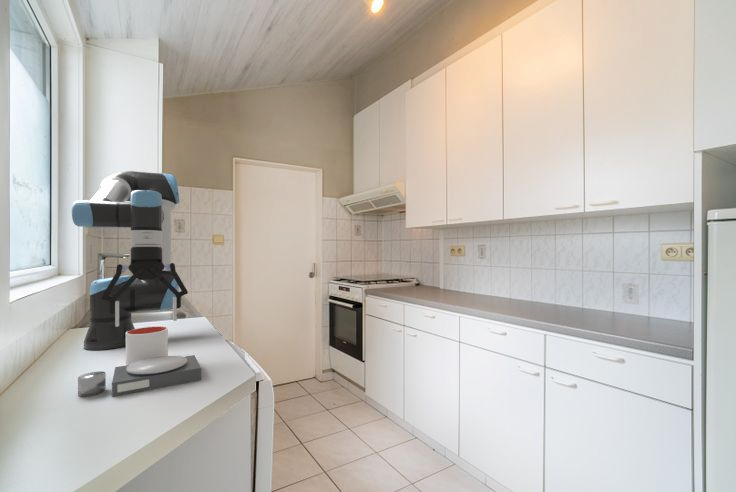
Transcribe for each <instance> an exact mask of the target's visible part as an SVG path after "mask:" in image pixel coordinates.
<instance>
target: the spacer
mask: <svg viewBox="0 0 736 492" xmlns="http://www.w3.org/2000/svg"><path fill="white" fill-rule="evenodd" d="M106 374H107V373H106V371H92V372H87V373H84V374H80V375H79V376H78V377H77V397H79V398H87V397H89V398H90V397H94V396H97V395H98V396H99V395H100V394H103V393H105V392H106V389H107V388H106V387H107V386H106V382H107V379H106V378H107V376H106Z"/></svg>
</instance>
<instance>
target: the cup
mask: <svg viewBox="0 0 736 492" xmlns="http://www.w3.org/2000/svg"><path fill="white" fill-rule="evenodd" d="M168 330H169V328H168V327H166V326H146V327H145V326H144V327H138V328H135V329H133V330H130V331H127V332H126V346H125V366H126V365H130V364H132V363H135V362H137V361H141V360H144V359H148V358H154V357H161V356H169V344H168V343H169V340H168V339H169V331H168Z"/></svg>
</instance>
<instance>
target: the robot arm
mask: <svg viewBox="0 0 736 492" xmlns="http://www.w3.org/2000/svg"><path fill="white" fill-rule="evenodd" d="M177 204H180V194H179V186H178V181H177V177H176V176H175V175H174V174H168V173H164V172H163V173H162V172H161V173H157V172H146V171H145V172H144V171H133V170H128V171H121V172H117V173H114V174H111V175H109V176H107V177H106V178H104V179H103V180H102V181H101V182H100V184H99V187H98V191H97V192H96V193H95V194H94V195H93V196H92V198H91V199H90V200H87V199H84V200H75V201H74V202H73V203H72V206H71V219H72V223H73V224H74V225H75V226H77V227H78V228H79V227H83V228H84V227H85V228H89V229H90V228H125V229H126V228H130V245H131V246H132V247H131V248H130V263H129V265H127V264H120V263H119V264H117V266H116V270H115V271H116V272H115V273H114V275H113V277H106V278H100V279H95V280H93V281H92V282H91V283H90V289H89V313H90V314H89V318H90V319H89V326H88V329H87V332H86V334H85V336H84V340H83V349H84V350H87V351H101V350H111V349H116V348H117V349H118V348H122V347H126V332H127V331H130V330H133V329H136V328H135V325H134V323H133V320H132V313H139V312H140V313H141V312H151V311H152V312H153V311H166V310H172V321H173V322H174V321H177V319H178V317H177V315H178V314H177V311H178V310H177V309H181V307H182V301H181V300H182V297H183V296H185V295H188V294H189V291H188V290H187V288H186V286H185V285H184V283H183V281H182V279H181V277H180V275H179V274H178V272H177V271H176V264H175V263H174V262H172V211H173V210H174V209H176V205H177ZM127 270H129V272H130V273H131V274H132V276H131V274H130V275H129V274H126V275H122V274H123V273H125V272H126V271H127ZM179 290H180V291H179Z"/></svg>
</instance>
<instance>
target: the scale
mask: <svg viewBox="0 0 736 492" xmlns="http://www.w3.org/2000/svg"><path fill="white" fill-rule="evenodd" d="M197 381H202V367H201V365H200V363H199V361H198V359H197V358H196V356H195V355H187V356H182V355H168V356H161V357H154V358H148V359H144V360H141V361H137V362H135V363H132V364H130V365H126V364H125V365H119V366H115V368H114V372H113V377H112V380H111V397H117V396H123V395H128V394H132V393H139V392H143V391H144V390H145V391H150V390H155V388H156V389H159V388H160V387H161V388H166V387H170V386H171V385H172V386H176V385H181V384H187V383H192V382H197ZM145 391H144V392H145Z"/></svg>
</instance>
